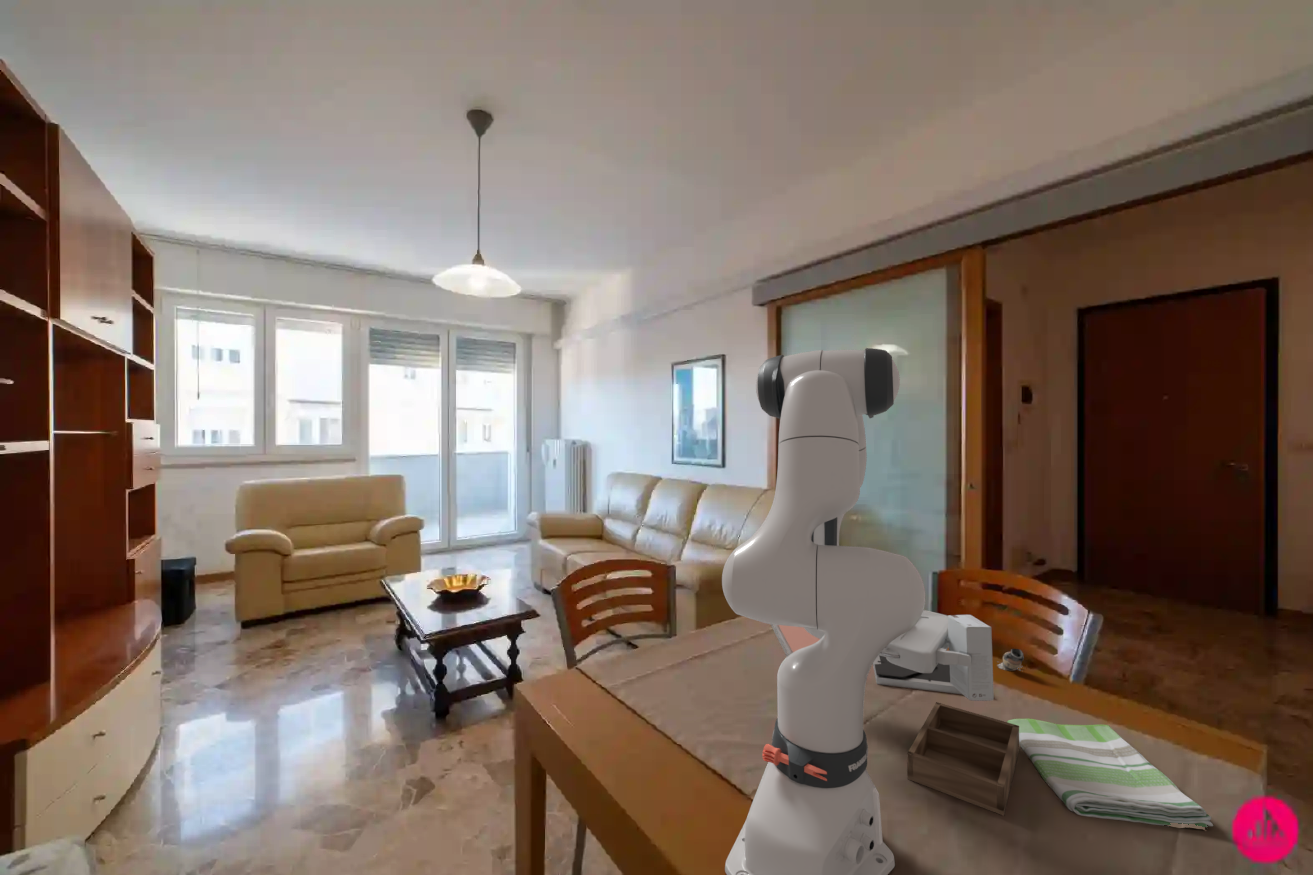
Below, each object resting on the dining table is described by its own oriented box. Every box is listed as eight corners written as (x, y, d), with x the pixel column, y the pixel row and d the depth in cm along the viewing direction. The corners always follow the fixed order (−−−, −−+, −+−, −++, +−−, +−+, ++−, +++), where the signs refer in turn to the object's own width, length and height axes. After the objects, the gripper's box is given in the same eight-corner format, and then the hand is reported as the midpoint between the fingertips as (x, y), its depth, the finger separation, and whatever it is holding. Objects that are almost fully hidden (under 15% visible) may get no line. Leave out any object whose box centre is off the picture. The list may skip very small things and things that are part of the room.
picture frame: (876, 686, 113) (988, 700, 106) (876, 673, 113) (988, 686, 106) (870, 655, 128) (968, 666, 121) (870, 644, 127) (968, 654, 121)
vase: (1033, 680, 113) (1030, 652, 113) (1003, 679, 115) (1001, 651, 114) (1024, 668, 118) (1021, 642, 118) (996, 667, 120) (993, 641, 120)
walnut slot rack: (1003, 815, 74) (1003, 787, 74) (907, 778, 82) (907, 753, 82) (1019, 749, 89) (1019, 725, 89) (936, 723, 97) (936, 701, 97)
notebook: (768, 622, 150) (768, 615, 150) (828, 621, 150) (828, 614, 150) (789, 665, 123) (789, 657, 123) (863, 665, 122) (863, 656, 122)
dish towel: (1068, 817, 75) (1068, 792, 74) (1002, 726, 97) (1002, 707, 97) (1217, 837, 70) (1217, 811, 70) (1113, 738, 93) (1113, 718, 93)
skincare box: (995, 701, 86) (995, 627, 86) (967, 701, 86) (967, 627, 86) (972, 682, 92) (972, 613, 92) (947, 683, 92) (946, 613, 92)
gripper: (870, 632, 89) (964, 653, 80) (904, 600, 105) (985, 615, 96) (870, 669, 89) (964, 695, 81) (904, 632, 105) (985, 650, 96)
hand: (976, 651), depth 88 cm, fingers closed on skincare box, 7 cm apart
